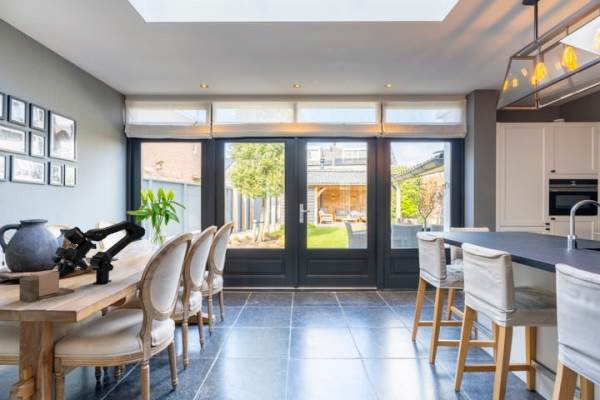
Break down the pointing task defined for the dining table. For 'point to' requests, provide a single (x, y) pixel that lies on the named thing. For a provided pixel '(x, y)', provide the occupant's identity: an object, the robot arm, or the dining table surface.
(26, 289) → the stop block
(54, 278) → the pink box
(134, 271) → the dining table surface
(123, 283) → the dining table surface
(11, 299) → the dining table surface
